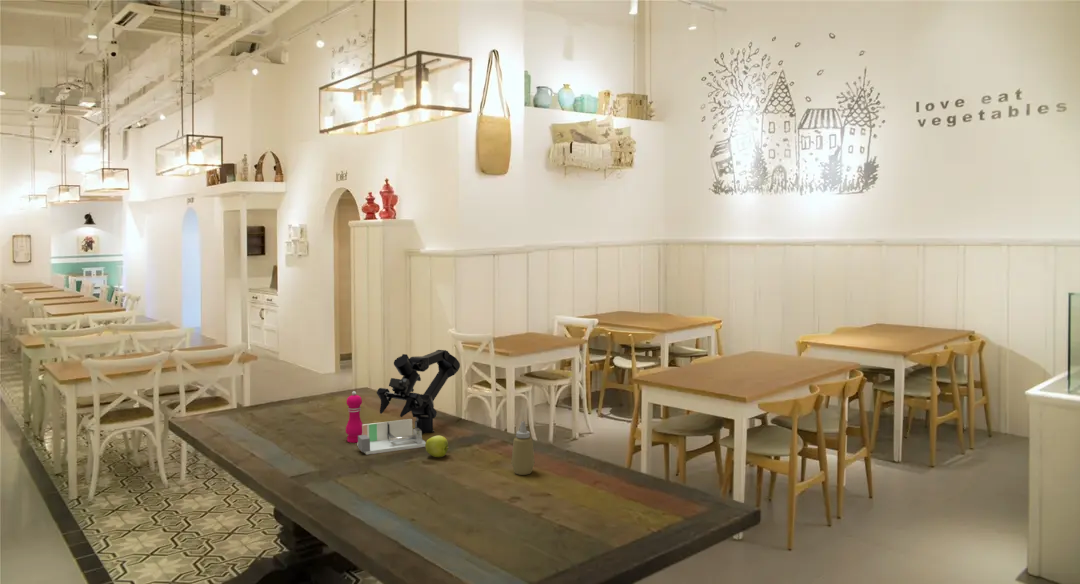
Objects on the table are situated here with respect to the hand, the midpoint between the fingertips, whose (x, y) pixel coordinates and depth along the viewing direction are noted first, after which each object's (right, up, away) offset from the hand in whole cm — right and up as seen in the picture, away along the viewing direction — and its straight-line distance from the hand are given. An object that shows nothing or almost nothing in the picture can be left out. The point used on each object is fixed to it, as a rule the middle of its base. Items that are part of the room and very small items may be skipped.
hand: (390, 414), depth 299 cm
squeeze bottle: (+52, -15, -31) cm, 63 cm away
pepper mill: (-16, -12, +9) cm, 22 cm away
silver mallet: (+4, -11, +3) cm, 12 cm away
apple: (+20, -14, -13) cm, 28 cm away
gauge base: (0, -12, +1) cm, 12 cm away
